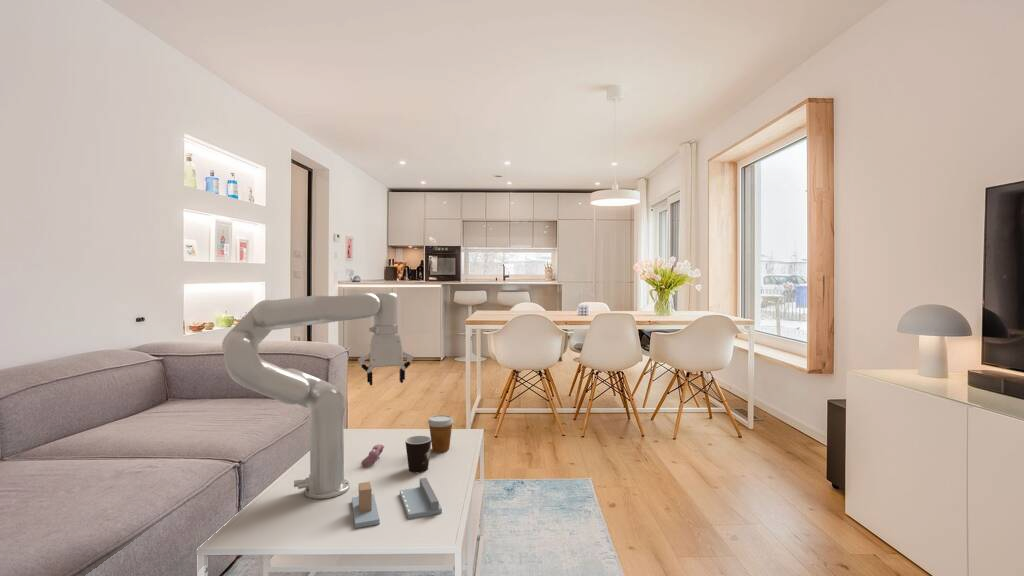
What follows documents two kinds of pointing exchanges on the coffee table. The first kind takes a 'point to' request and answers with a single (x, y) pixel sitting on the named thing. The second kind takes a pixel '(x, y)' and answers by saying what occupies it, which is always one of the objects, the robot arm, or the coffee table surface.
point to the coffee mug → (418, 453)
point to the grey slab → (365, 507)
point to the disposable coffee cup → (440, 432)
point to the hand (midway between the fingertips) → (386, 383)
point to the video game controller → (373, 455)
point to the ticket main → (420, 500)
